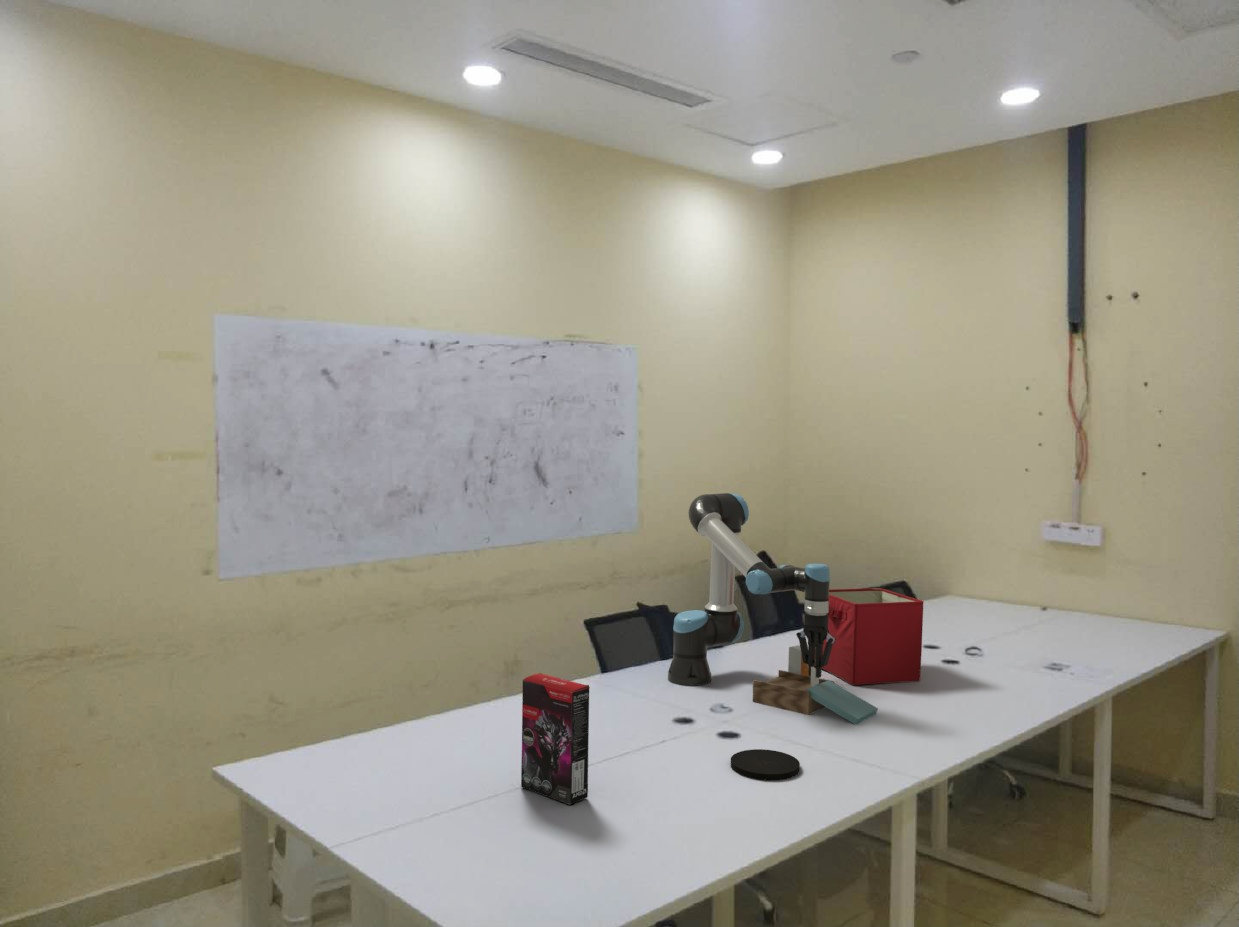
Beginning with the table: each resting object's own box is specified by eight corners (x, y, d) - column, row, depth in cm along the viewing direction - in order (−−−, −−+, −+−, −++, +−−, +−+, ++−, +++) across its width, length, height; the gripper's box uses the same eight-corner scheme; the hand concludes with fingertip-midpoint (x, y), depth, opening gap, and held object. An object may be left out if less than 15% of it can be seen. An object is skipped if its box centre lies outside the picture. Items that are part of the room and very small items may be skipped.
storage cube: (881, 661, 355) (883, 586, 353) (927, 681, 329) (929, 599, 327) (806, 667, 345) (808, 589, 343) (847, 687, 318) (849, 603, 317)
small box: (800, 688, 317) (801, 650, 316) (787, 683, 322) (788, 646, 321) (817, 685, 321) (818, 647, 321) (804, 680, 326) (805, 643, 326)
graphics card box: (518, 787, 227) (519, 677, 226) (538, 779, 233) (539, 671, 231) (570, 807, 217) (572, 691, 215) (590, 798, 222) (591, 684, 221)
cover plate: (805, 694, 290) (807, 688, 290) (826, 685, 301) (828, 679, 300) (855, 724, 279) (858, 718, 279) (876, 714, 290) (878, 708, 290)
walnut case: (752, 701, 301) (753, 680, 300) (779, 690, 314) (780, 669, 313) (808, 715, 288) (808, 692, 288) (833, 702, 301) (834, 681, 301)
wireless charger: (753, 751, 256) (753, 744, 256) (811, 767, 245) (812, 760, 245) (717, 769, 242) (717, 762, 242) (777, 787, 231) (777, 779, 231)
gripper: (792, 611, 296) (790, 685, 297) (829, 617, 288) (827, 693, 289) (803, 608, 302) (802, 680, 303) (840, 614, 293) (839, 688, 294)
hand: (814, 686), depth 296 cm, fingers closed
